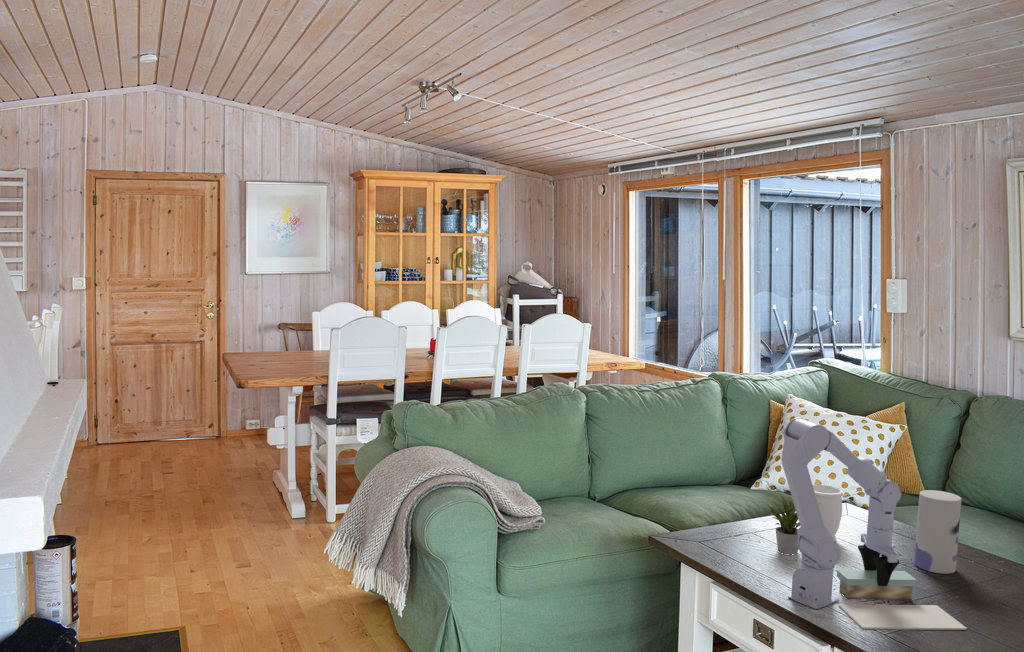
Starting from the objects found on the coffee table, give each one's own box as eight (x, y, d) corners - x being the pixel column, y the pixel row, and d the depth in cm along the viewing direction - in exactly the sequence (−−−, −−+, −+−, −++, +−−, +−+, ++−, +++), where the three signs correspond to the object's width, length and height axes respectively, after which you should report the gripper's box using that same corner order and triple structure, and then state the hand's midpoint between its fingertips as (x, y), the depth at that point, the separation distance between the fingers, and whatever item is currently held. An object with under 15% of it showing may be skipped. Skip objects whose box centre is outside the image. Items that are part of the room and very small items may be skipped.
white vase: (816, 546, 237) (819, 495, 236) (794, 534, 247) (797, 484, 246) (847, 543, 240) (851, 493, 239) (825, 531, 250) (828, 483, 248)
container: (960, 576, 218) (966, 501, 216) (920, 572, 219) (925, 498, 218) (948, 562, 227) (954, 491, 226) (909, 558, 229) (915, 488, 227)
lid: (847, 585, 199) (847, 579, 199) (836, 576, 205) (837, 570, 205) (916, 586, 200) (916, 579, 200) (904, 577, 206) (904, 570, 206)
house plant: (811, 544, 238) (815, 489, 237) (824, 562, 224) (828, 503, 223) (760, 541, 239) (763, 486, 238) (770, 559, 226) (774, 500, 224)
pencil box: (847, 599, 200) (848, 583, 200) (839, 592, 205) (840, 576, 204) (911, 599, 201) (912, 584, 201) (902, 592, 205) (903, 576, 205)
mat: (862, 629, 184) (862, 627, 184) (838, 606, 196) (838, 604, 196) (966, 629, 186) (966, 628, 185) (936, 606, 197) (936, 605, 197)
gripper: (912, 536, 194) (907, 592, 195) (881, 517, 209) (877, 569, 210) (882, 536, 194) (878, 592, 195) (854, 516, 208) (850, 568, 209)
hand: (876, 580), depth 202 cm, fingers closed on lid, 6 cm apart
